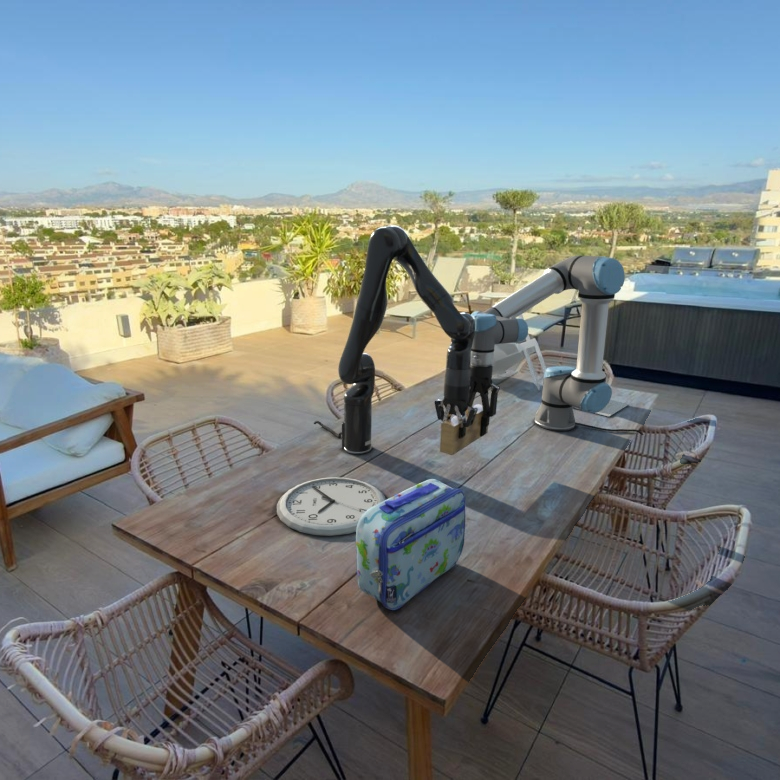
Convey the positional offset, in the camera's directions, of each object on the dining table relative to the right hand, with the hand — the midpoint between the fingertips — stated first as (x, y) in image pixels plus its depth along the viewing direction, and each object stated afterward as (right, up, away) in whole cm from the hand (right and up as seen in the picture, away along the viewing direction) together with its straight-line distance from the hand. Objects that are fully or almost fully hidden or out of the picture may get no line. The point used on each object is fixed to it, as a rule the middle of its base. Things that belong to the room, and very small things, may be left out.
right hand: (475, 432), depth 170 cm
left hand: (-9, 0, -12) cm, 15 cm away
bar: (-4, -2, -5) cm, 7 cm away
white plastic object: (+28, +17, +87) cm, 93 cm away
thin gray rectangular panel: (+63, +7, +56) cm, 85 cm away
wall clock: (-44, -18, -28) cm, 55 cm away
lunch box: (-23, -27, -58) cm, 68 cm away
